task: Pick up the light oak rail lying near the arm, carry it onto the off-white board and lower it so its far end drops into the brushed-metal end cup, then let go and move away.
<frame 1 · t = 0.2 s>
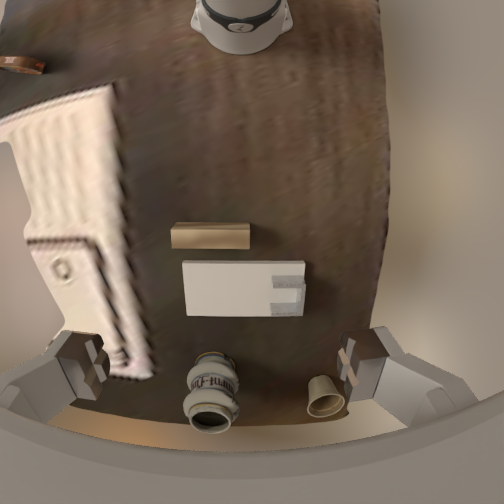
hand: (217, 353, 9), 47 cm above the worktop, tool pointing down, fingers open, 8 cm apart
flower pot: (319, 382, 72), on the worktop
rail: (212, 231, 57), on the worktop
bracket: (243, 287, 61), on the worktop
tin: (30, 67, 42), on the worktop
apothecary jar: (214, 366, 69), on the worktop
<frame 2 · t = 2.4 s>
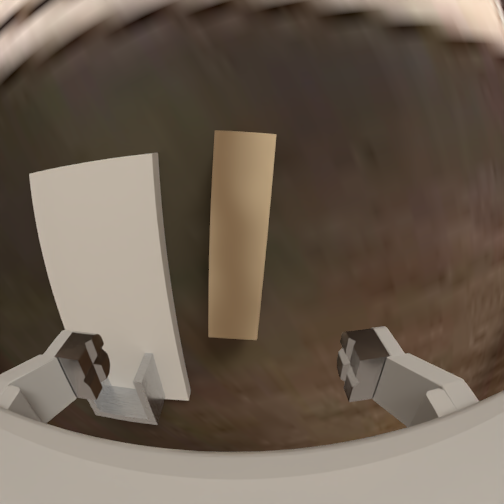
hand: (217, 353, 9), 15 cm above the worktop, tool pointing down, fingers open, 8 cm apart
rail: (239, 225, 23), on the worktop
bracket: (111, 294, 25), on the worktop
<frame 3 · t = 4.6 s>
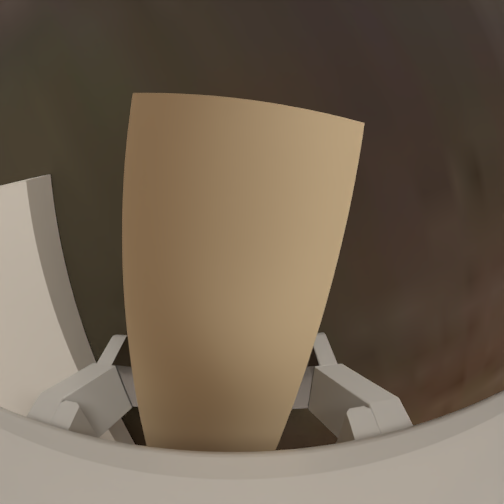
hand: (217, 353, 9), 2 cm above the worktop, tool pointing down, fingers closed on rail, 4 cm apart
rail: (221, 322, 11), on the worktop, touching gripper
bracket: (36, 394, 13), on the worktop
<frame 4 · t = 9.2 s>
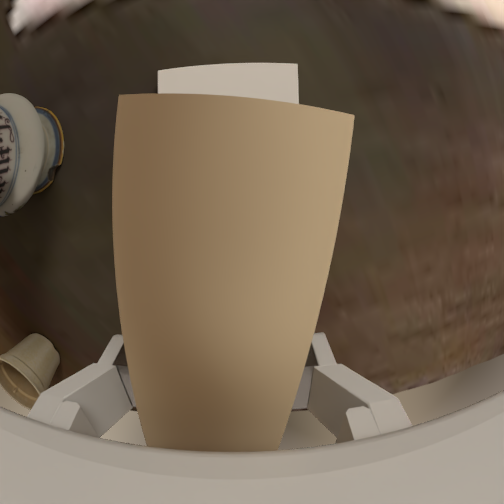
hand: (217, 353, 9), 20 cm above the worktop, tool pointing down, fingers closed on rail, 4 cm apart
flower pot: (44, 348, 34), on the worktop
rail: (221, 323, 11), point 18 cm above the worktop, touching gripper
bracket: (230, 195, 27), on the worktop
apothecary jar: (33, 150, 24), on the worktop
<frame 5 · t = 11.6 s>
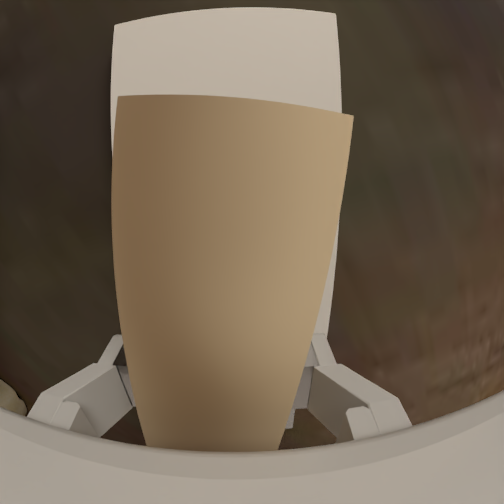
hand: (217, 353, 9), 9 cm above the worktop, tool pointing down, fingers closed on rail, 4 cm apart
flower pot: (8, 393, 24), on the worktop
rail: (220, 323, 11), point 7 cm above the worktop, touching gripper
bracket: (227, 219, 17), on the worktop
when the fingers open (4 cm above the worktop, at t = 13.7 s): rail stays where it is, resting on bracket.
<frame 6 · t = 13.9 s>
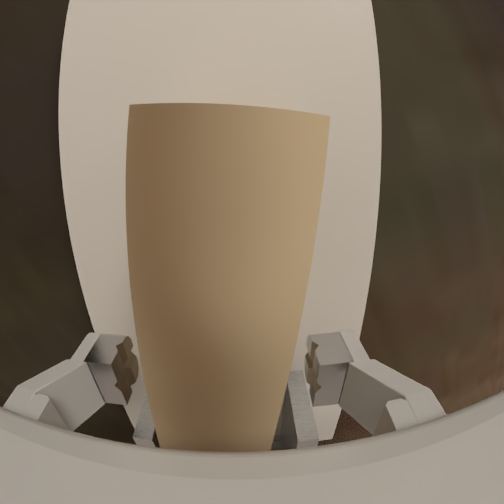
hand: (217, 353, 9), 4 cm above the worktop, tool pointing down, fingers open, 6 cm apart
rail: (222, 311, 12), point 1 cm above the worktop, touching bracket
bracket: (220, 251, 12), on the worktop
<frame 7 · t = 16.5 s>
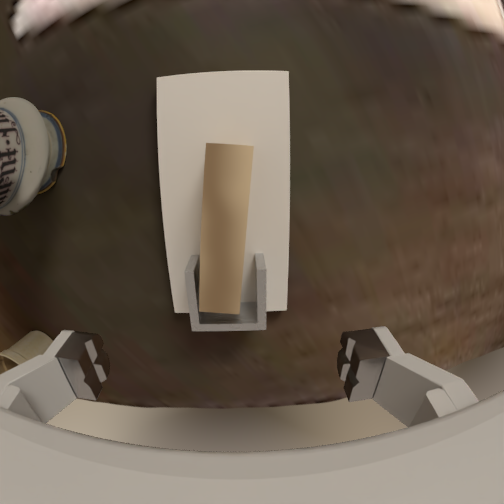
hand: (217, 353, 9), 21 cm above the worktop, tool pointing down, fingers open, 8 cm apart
flower pot: (44, 345, 35), on the worktop
rail: (226, 219, 28), point 1 cm above the worktop, touching bracket
bracket: (225, 196, 28), on the worktop
apothecary jar: (36, 152, 26), on the worktop
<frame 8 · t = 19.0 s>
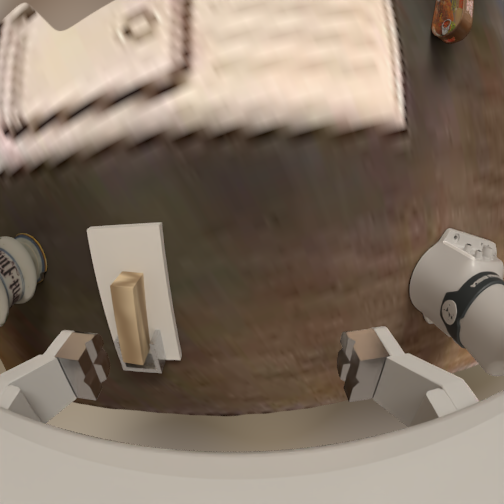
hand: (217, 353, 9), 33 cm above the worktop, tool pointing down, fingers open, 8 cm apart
rail: (136, 311, 45), point 1 cm above the worktop, touching bracket
bracket: (136, 296, 45), on the worktop
tin: (440, 17, 30), on the worktop
apothecary jar: (28, 258, 43), on the worktop
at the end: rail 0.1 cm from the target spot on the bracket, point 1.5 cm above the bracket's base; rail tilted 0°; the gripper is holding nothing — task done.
